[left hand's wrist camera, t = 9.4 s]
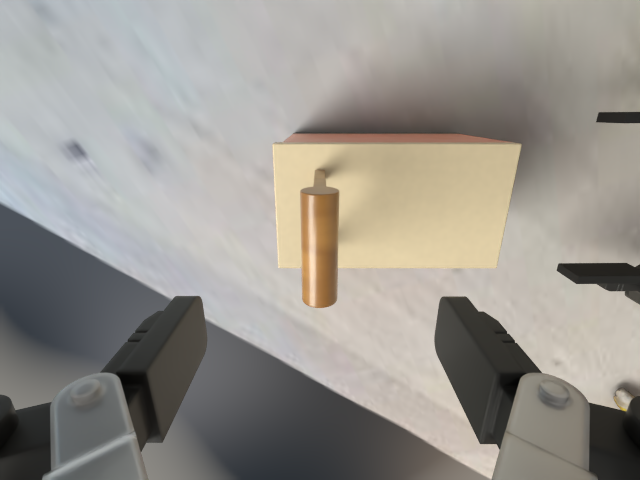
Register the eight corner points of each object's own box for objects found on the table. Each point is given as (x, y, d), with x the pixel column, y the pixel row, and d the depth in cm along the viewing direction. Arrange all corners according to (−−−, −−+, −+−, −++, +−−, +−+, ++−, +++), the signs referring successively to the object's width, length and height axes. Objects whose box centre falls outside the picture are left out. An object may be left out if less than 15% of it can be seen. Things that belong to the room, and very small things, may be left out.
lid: (280, 262, 27) (260, 333, 18) (274, 142, 23) (247, 159, 15) (490, 262, 27) (570, 333, 18) (513, 142, 23) (625, 159, 15)
